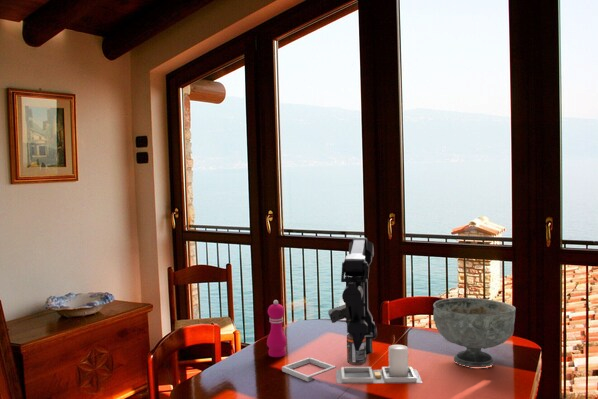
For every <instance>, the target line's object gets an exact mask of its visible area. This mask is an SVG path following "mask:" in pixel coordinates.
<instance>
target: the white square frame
mask: <svg viewBox="0 0 598 399" xmlns="http://www.w3.org/2000/svg"><path fill="white" fill-rule="evenodd" d="M309 363H310V364H313V365H315V366H317V367H321V368H323V369H322V370H320V371H319V370H318V371H317V372H314V373H311V374H306V373H305V374H304V373H302V372H300V371H297V370H294V369H297V368H299V367H301V366H305V365H306V364H309ZM336 368H337V367H336V365H333V364H330V363H328V362H324V361H321V360H319V359H316V358H313V357H306V358H303V359H301V360H297V361H295V362H292V363H289V364H285V365H283V366H281V371H282V372H283V373H286V374H288V375H291V376H293V377H295V378H298V379H301V380H303V381H305V382H311V381H314V380H315V378H312V377H314V376H317V375H320V374H322V373H325V372H327V371H331V370H333V369H336Z"/></svg>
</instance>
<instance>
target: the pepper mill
mask: <svg viewBox="0 0 598 399" xmlns="http://www.w3.org/2000/svg"><path fill="white" fill-rule="evenodd" d="M267 314H268V316H269V320H268V321H269V323H270V331H269V335H268V336H267V340H266V346H267V347H268V348H269V349H268V356H269V357H272V358H282V357H284V356H286V354H287V353H286V352H287V351H286V346H287V344H288V342H287V337H286V335H285V331H284V330H283V322H284V317H283V316H284V315H285V308H284V306H283V305H282V304H280V303H279V300H277V299H274V300H273V304H270V305H269V306H268V308H267Z"/></svg>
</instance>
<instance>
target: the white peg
mask: <svg viewBox="0 0 598 399" xmlns="http://www.w3.org/2000/svg"><path fill="white" fill-rule="evenodd" d="M388 367H389V377H408V367H409V347H408V346H406V345H403V344H392V345H389V346H388Z"/></svg>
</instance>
